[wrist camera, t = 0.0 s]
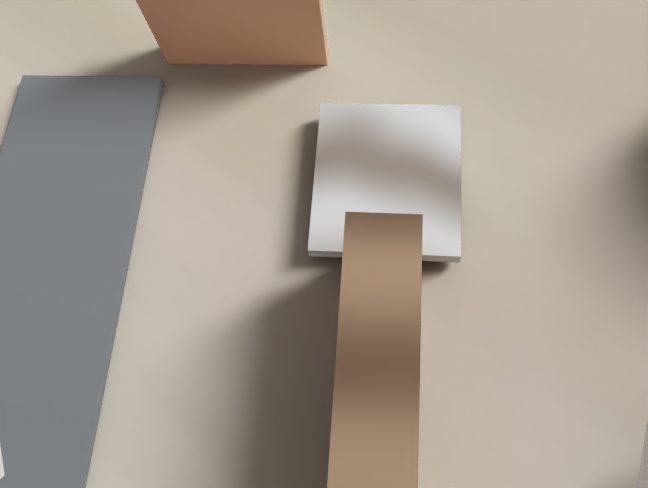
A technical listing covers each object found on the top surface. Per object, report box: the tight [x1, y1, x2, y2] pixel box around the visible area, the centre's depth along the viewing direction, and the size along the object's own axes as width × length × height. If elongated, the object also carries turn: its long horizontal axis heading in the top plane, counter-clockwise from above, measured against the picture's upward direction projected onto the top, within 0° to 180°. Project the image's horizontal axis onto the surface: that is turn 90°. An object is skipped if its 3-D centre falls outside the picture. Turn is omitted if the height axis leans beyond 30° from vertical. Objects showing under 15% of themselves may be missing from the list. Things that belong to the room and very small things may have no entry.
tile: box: [136, 0, 329, 65], centre depth 32 cm, size 1×9×7 cm, turn 86°
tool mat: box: [0, 76, 164, 488], centre depth 31 cm, size 22×8×1 cm, turn 176°
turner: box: [308, 103, 461, 488], centre depth 26 cm, size 20×7×6 cm, turn 176°
